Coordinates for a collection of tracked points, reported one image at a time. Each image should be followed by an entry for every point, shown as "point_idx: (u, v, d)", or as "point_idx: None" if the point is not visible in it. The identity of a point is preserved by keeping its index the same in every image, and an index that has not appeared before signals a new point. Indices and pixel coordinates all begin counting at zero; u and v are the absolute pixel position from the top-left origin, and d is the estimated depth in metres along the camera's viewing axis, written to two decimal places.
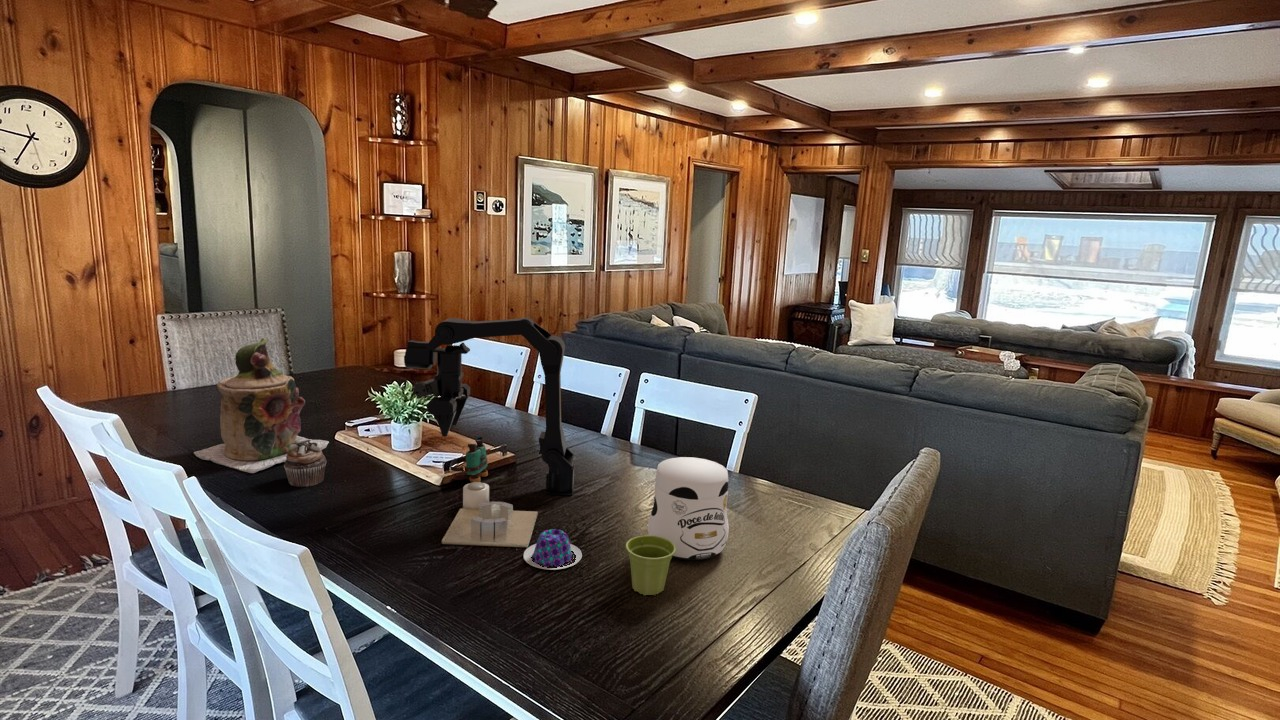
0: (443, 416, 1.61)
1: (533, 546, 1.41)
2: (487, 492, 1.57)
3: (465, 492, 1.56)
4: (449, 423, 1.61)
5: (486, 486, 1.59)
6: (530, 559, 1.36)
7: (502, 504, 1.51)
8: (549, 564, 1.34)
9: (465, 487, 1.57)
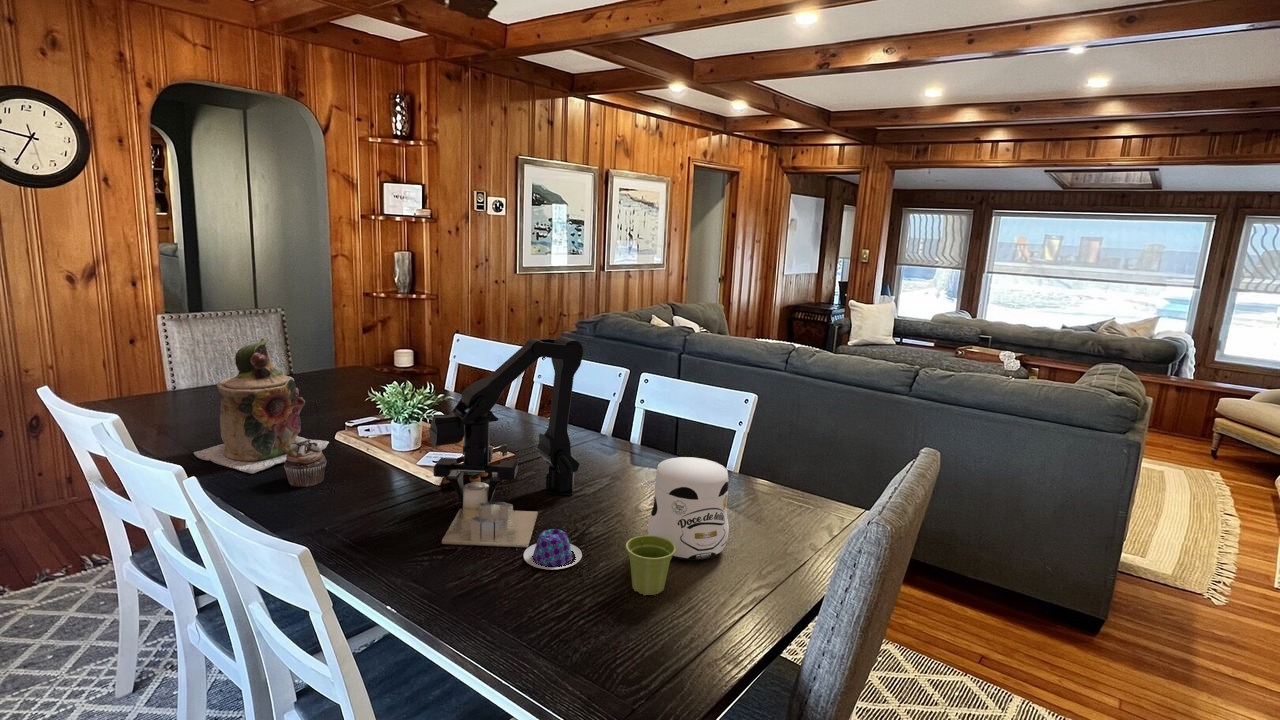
0: None
1: (531, 547, 1.40)
2: (487, 492, 1.57)
3: (465, 492, 1.56)
4: None
5: (486, 486, 1.59)
6: (531, 560, 1.35)
7: (502, 504, 1.51)
8: (551, 564, 1.34)
9: (465, 487, 1.57)
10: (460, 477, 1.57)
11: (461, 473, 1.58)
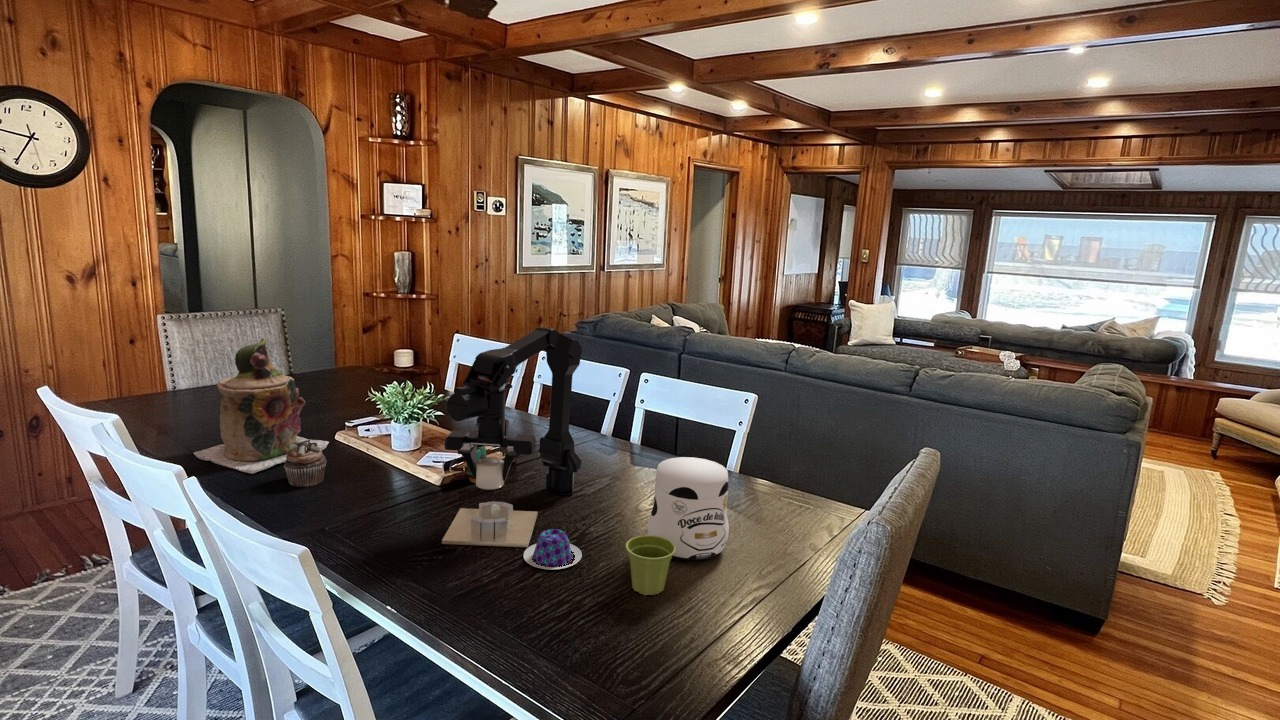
0: None
1: (530, 547, 1.40)
2: (502, 468, 1.45)
3: (478, 467, 1.44)
4: None
5: (501, 462, 1.47)
6: (531, 561, 1.35)
7: (502, 504, 1.51)
8: (552, 564, 1.34)
9: (478, 462, 1.46)
10: (473, 451, 1.45)
11: (474, 447, 1.46)
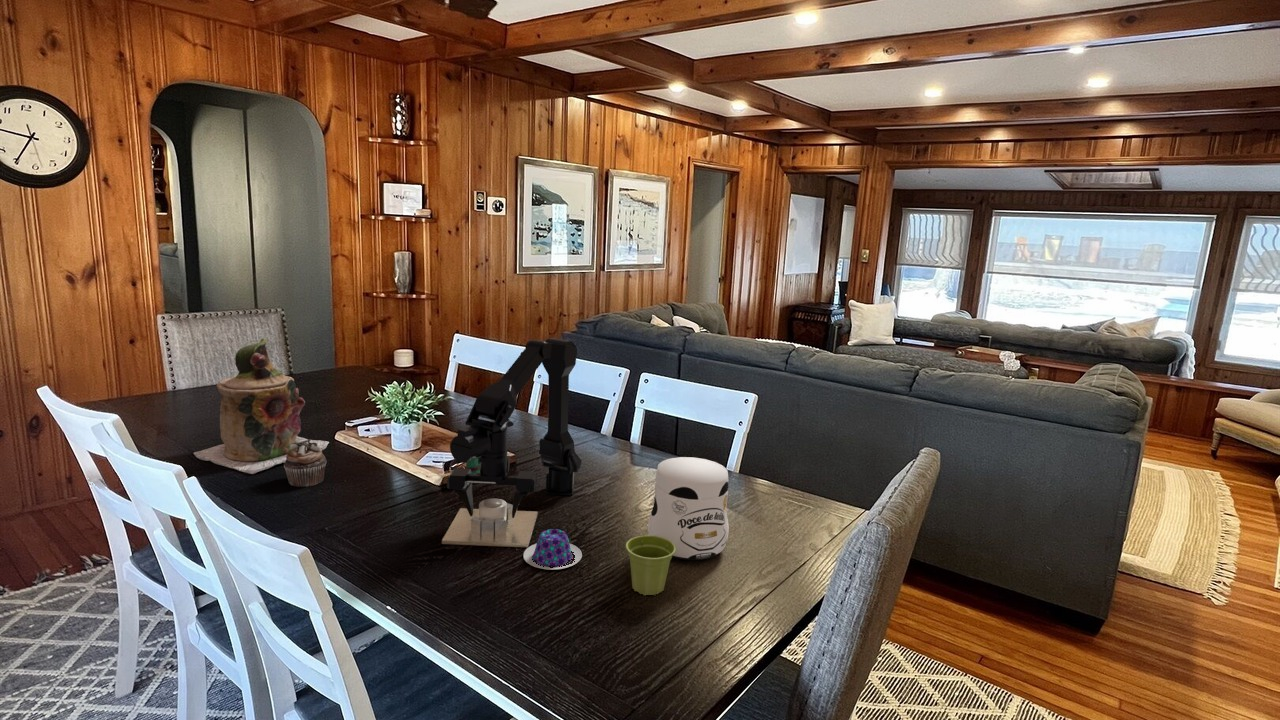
0: None
1: (529, 548, 1.40)
2: (505, 509, 1.47)
3: (481, 509, 1.45)
4: None
5: (504, 503, 1.48)
6: (532, 561, 1.35)
7: None
8: (554, 564, 1.34)
9: (481, 504, 1.47)
10: (469, 489, 1.46)
11: (470, 484, 1.47)
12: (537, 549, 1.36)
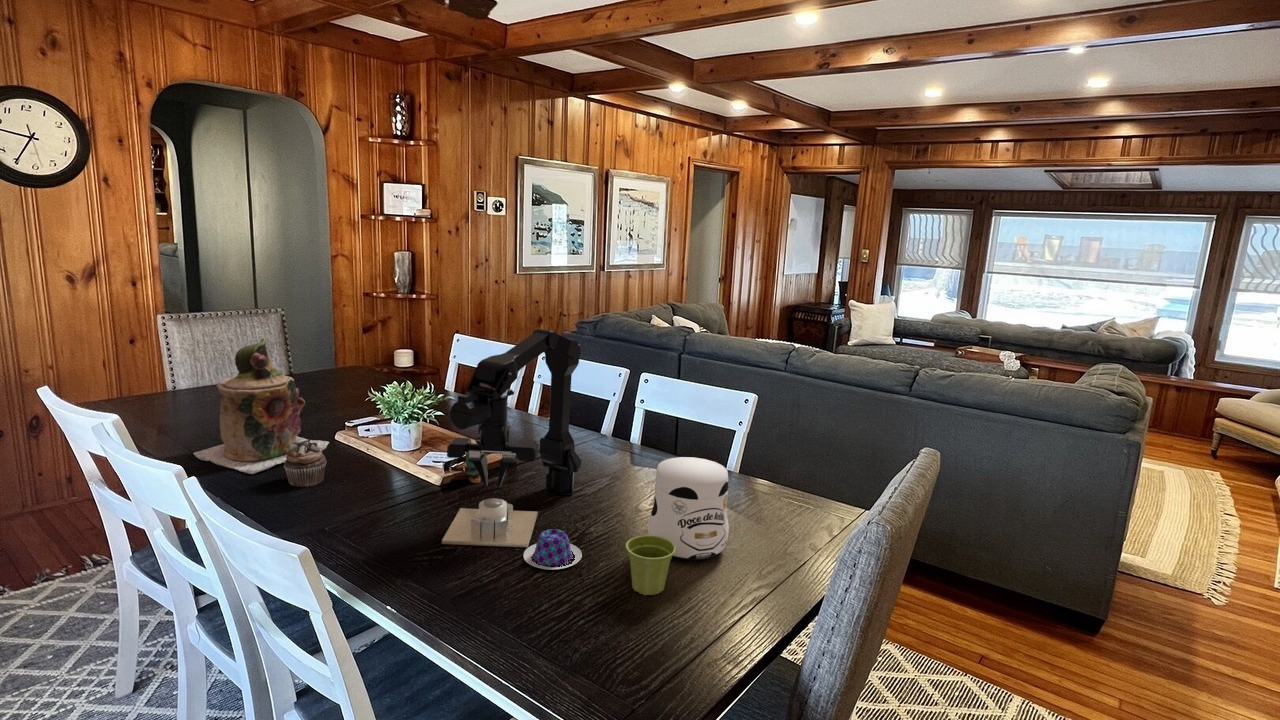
0: None
1: (528, 549, 1.39)
2: (505, 509, 1.47)
3: (481, 509, 1.45)
4: None
5: (504, 503, 1.48)
6: (532, 562, 1.35)
7: None
8: (555, 564, 1.34)
9: (481, 504, 1.47)
10: (483, 459, 1.45)
11: (484, 455, 1.46)
12: (537, 549, 1.35)
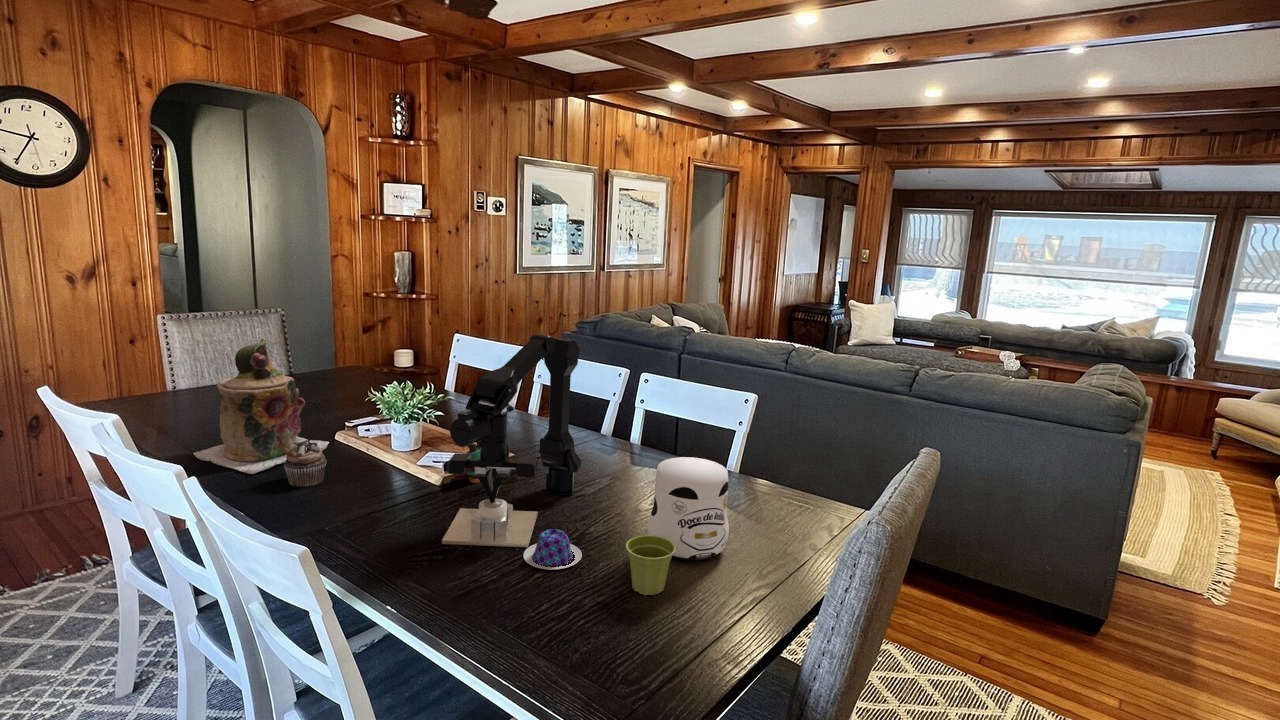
0: None
1: (528, 549, 1.39)
2: (505, 509, 1.46)
3: (481, 509, 1.45)
4: None
5: (504, 503, 1.48)
6: (533, 562, 1.34)
7: None
8: (555, 564, 1.34)
9: (481, 504, 1.47)
10: (489, 475, 1.45)
11: (490, 470, 1.46)
12: (538, 550, 1.35)
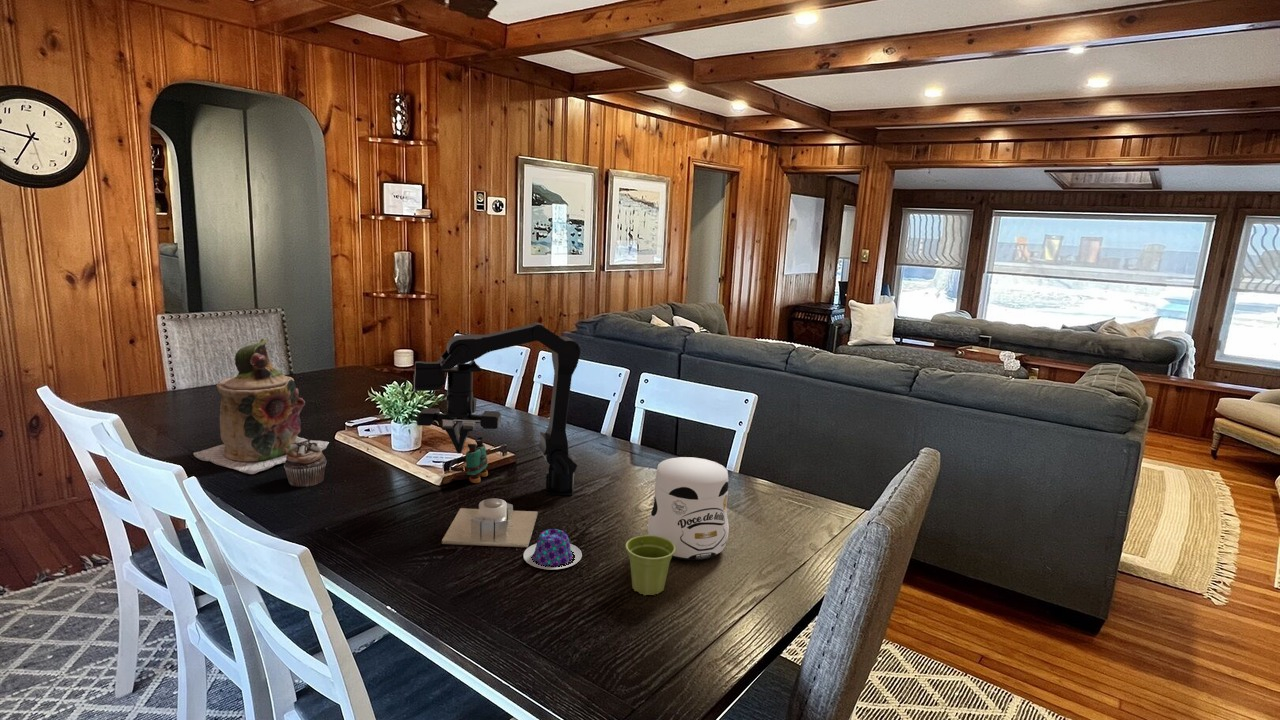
0: None
1: (527, 550, 1.39)
2: (504, 509, 1.46)
3: (481, 509, 1.45)
4: None
5: (504, 503, 1.48)
6: (534, 563, 1.34)
7: None
8: (557, 564, 1.34)
9: (481, 504, 1.47)
10: (456, 427, 1.58)
11: (457, 424, 1.59)
12: (538, 550, 1.35)
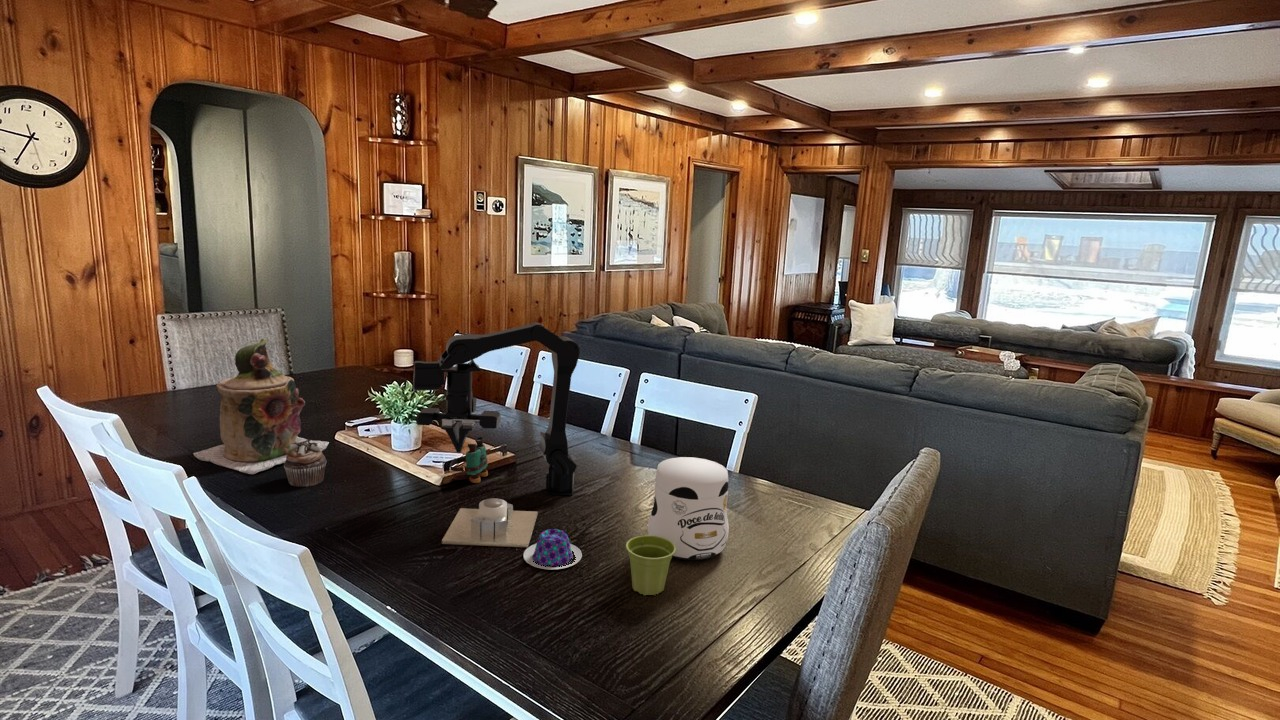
0: None
1: (527, 551, 1.39)
2: (505, 509, 1.46)
3: (481, 509, 1.45)
4: None
5: (504, 503, 1.48)
6: (534, 563, 1.34)
7: None
8: (557, 564, 1.34)
9: (481, 503, 1.47)
10: (456, 427, 1.59)
11: (457, 423, 1.60)
12: (538, 550, 1.35)
